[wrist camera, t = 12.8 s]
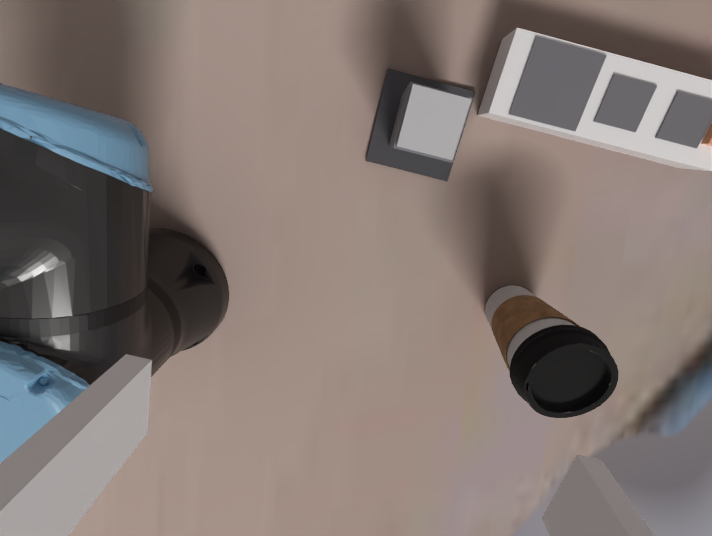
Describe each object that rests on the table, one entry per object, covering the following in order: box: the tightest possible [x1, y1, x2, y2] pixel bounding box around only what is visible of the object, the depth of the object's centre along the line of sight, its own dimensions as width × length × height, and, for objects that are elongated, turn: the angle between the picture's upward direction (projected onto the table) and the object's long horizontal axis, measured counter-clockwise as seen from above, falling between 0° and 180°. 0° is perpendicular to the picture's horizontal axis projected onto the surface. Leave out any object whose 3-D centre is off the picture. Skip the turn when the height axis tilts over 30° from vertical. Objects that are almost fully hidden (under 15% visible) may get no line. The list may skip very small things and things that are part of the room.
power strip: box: [477, 28, 712, 171], centre depth 35 cm, size 29×7×5 cm, turn 76°
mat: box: [366, 69, 475, 181], centre depth 39 cm, size 9×9×1 cm
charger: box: [389, 82, 473, 163], centre depth 34 cm, size 5×5×10 cm
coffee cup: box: [485, 285, 618, 418], centre depth 38 cm, size 8×8×15 cm
